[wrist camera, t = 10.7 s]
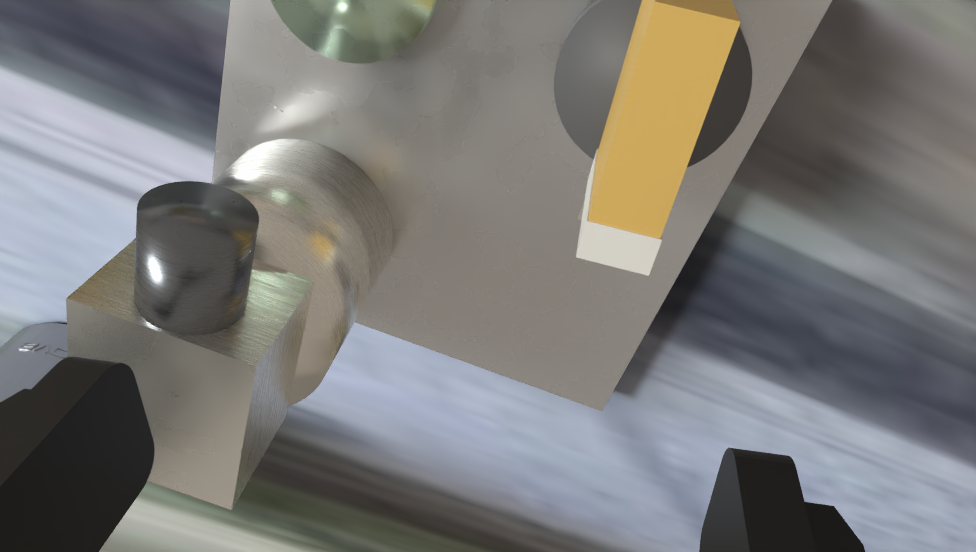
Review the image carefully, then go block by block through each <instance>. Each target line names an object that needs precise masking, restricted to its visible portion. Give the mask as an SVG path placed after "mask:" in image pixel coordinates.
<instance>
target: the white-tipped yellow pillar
mask: <svg viewBox="0 0 976 552" xmlns="http://www.w3.org/2000/svg"><path fill="white" fill-rule="evenodd" d="M740 22H741V21H740V19H739V17H738V14H737V12H736V9H735V7H734V5H733V2H732V0H595V1H593V2H592V3H591V4H590V5H589V6H588V7H587V8H586V9H585V10H584V11H583V12H582V13H581V14H580V15H579V17H578V18H577V19H576V20H575V22H574V23H573V25H572V26H571V28H570V30H569V31H568V33H567V35H566V38H565V40H564V42H563V45H562V48H561V50H560V54H559V57H558V60H557V63H556V68H555V74H554V97H555V103H556V107H557V112H558V114H559V117H560V120H561V122H562V124H563V126H564V128H565V130H566V132H567V133H568V135H569V136H570V137H571V139H572V140H573V142H574V143H575V144H576V145H577V146H578V147H579V148H580V149H581V150H582V151H583V152H584V153H585V154H587V155H588V156H589V157H590V158H592V159H593V164H592V167H591V171H590V174H589V177H588V181H587V188H586V195H585V201H584V208H583V214H582V221H581V227H580V234H579V240H578V247H577V253H576V257H577V258H581V259H585V260H588V261H592V262H596V263H600V264H604V265H608V266H612V267H616V268H620V269H624V270H628V271H632V272H636V273H640V274H643V275H647V276H649V274H650V271H651V269H652V266H653V263H654V261H655V258H656V255H657V253H658V250H659V247H660V244H661V242H662V233H663V230H664V227H665V225H666V222H667V219H668V217H669V214H670V211H671V209H672V206H673V203H674V200H675V198H676V195H677V192H678V190H679V187H680V184H681V182H682V179H683V176H684V173H685V171H686V168H687V167H690V166H692V165H694V164H696V163H698V162H700V161H701V160H703V159H705V158H706V157H708V156H709V155H711V154H712V153H713V152H715V151H716V150H717V149H718V148H719V147H720V146H721V145H722V144H723V143H724V142H725V141H726V140H727V139H728V138H729V137H730V135H731V134H732V133H733V132H734V130H735V129H736V127H737V125H738V124H739V122H740V121H741V118H742V116H743V114H744V112H745V110H746V107H747V104H748V101H749V98H750V92H751V87H752V63H751V57H750V53H749V49H748V46H747V43H746V41H745V38H744V36H743V33H742V31H741V28H740V26H739V25H740Z"/></svg>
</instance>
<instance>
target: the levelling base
mask: <svg viewBox="0 0 976 552" xmlns="http://www.w3.org/2000/svg"><path fill="white" fill-rule="evenodd" d="M593 1H595V0H231V2H230V12H229V22H228V31H227V41H226V50H225V60H224V70H223V79H222V89H221V99H220V108H219V118H218V127H217V137H216V147H215V156H214V166H213V176H212V183H205V182H193V181H184V182H174V183H168V184H164V185H161V186H158V187H155V188H153V189H151V190H150V191H148V192H147V193H145V194H144V195H143V196H142V198H141V199H140V200H139V203H138V206H137V225H136V238H135V239H134V240H133V241H132V242H131V243H130V244H129V245H127V246H126V247H125V248H124V249H123V250H122V251H120V252H119V253H118V254H117V255H116V256H115V257H114V258H112V259H111V260H110V261H109V262H108V263H107V264H105V265H104V266H103V267H102V268H101V269H100V270H99V271H97V272H96V273H95V274H94V275H93V276H92V277H90V278H89V279H88V280H87V281H86V282H85V283H84V284H82V285H81V286H80V287H79V288H78V289H77V290H75V291H74V292H73V293H72V294H71V295H70V296H69V297H67V298H66V302H67V338H68V357H73V356H74V357H81V358H88V359H96V360H103V361H111V362H118V363H124V364H126V365H128V366H129V367H130V368H131V369H132V371H133V373H134V375H135V378H136V382H137V385H138V389H139V392H140V396H141V399H142V403H143V406H144V409H145V413H146V416H147V420H148V423H149V427H150V430H151V434H152V437H153V441H154V448H155V452H154V462H153V466H152V470H151V473H150V475H149V478H148V480H147V481H150V482H153V483H156V484H159V485H162V486H164V487H167V488H170V489H173V490H176V491H179V492H181V493H184V494H187V495H190V496H193V497H196V498H198V499H201V500H204V501H207V502H210V503H212V504H215V505H218V506H221V507H224V508H227V509H229V510H232V509H233V507H234V505H235V504H236V502H237V500H238V498H239V497H240V495H241V493H242V492H243V490H244V488H245V486H246V485H247V483H248V481H249V480H250V478H251V476H252V474H253V473H254V471H255V469H256V467H257V466H258V464H259V462H260V461H261V459H262V457H263V455H264V454H265V452H266V450H267V449H268V447H269V445H270V443H271V442H272V440H273V438H274V436H275V435H276V433H277V431H278V430H279V428H280V426H281V424H282V423H283V421H284V419H285V417H286V413H287V409H288V406H290V405H292V404H295V403H297V402H299V401H301V400H302V399H304V398H306V397H307V396H308V395H310V394H311V393H312V392H313V391H314V390H315V389H316V388H317V387H318V386H319V384H320V383H321V381H322V380H323V378H324V376H325V374H326V373H327V371H328V369H329V367H330V365H331V364H332V362H333V360H334V358H335V356H336V355H337V353H338V351H339V349H340V347H341V346H342V344H343V342H344V340H345V338H346V337H347V335H348V333H349V331H350V329H351V328H352V326H353V324H354V322H356V323H359V324H362V325H364V326H367V327H370V328H373V329H375V330H378V331H381V332H384V333H387V334H389V335H392V336H395V337H398V338H400V339H403V340H406V341H409V342H412V343H414V344H417V345H420V346H423V347H425V348H428V349H431V350H434V351H436V352H439V353H442V354H445V355H448V356H450V357H453V358H456V359H459V360H461V361H464V362H467V363H470V364H473V365H475V366H478V367H481V368H484V369H486V370H489V371H492V372H495V373H498V374H500V375H503V376H506V377H509V378H511V379H514V380H517V381H520V382H522V383H525V384H528V385H531V386H534V387H536V388H539V389H542V390H545V391H547V392H550V393H553V394H556V395H559V396H561V397H564V398H567V399H570V400H572V401H575V402H578V403H581V404H583V405H586V406H589V407H592V408H595V409H597V410H600V411H602V410H603V409H604V407H605V405H606V403H607V401H608V400H609V398H610V396H611V394H612V393H613V391H614V389H615V387H616V385H617V384H618V382H619V380H620V378H621V377H622V375H623V373H624V371H625V369H626V368H627V366H628V364H629V362H630V360H631V359H632V357H633V355H634V353H635V352H636V350H637V348H638V346H639V344H640V343H641V341H642V339H643V337H644V335H645V334H646V332H647V330H648V328H649V327H650V325H651V323H652V321H653V319H654V318H655V316H656V314H657V312H658V311H659V309H660V307H661V305H662V303H663V302H664V300H665V298H666V296H667V294H668V293H669V291H670V289H671V287H672V286H673V284H674V282H675V280H676V278H677V277H678V275H679V273H680V271H681V270H682V268H683V266H684V264H685V262H686V261H687V259H688V257H689V255H690V253H691V252H692V250H693V248H694V246H695V245H696V243H697V241H698V239H699V237H700V236H701V234H702V232H703V230H704V228H705V227H706V225H707V223H708V221H709V220H710V218H711V216H712V214H713V212H714V211H715V209H716V207H717V205H718V204H719V202H720V200H721V198H722V196H723V195H724V193H725V191H726V189H727V187H728V186H729V184H730V182H731V180H732V179H733V177H734V175H735V173H736V171H737V170H738V168H739V166H740V164H741V163H742V161H743V159H744V157H745V155H746V154H747V152H748V150H749V148H750V146H751V145H752V143H753V141H754V139H755V138H756V136H757V134H758V132H759V130H760V129H761V127H762V125H763V123H764V121H765V120H766V118H767V116H768V114H769V113H770V111H771V109H772V107H773V105H774V104H775V102H776V100H777V98H778V97H779V95H780V93H781V91H782V89H783V88H784V86H785V84H786V82H787V80H788V79H789V77H790V75H791V73H792V72H793V70H794V68H795V66H796V64H797V63H798V61H799V59H800V57H801V56H802V54H803V52H804V50H805V48H806V47H807V45H808V43H809V41H810V39H811V38H812V36H813V34H814V32H815V31H816V29H817V27H818V25H819V23H820V22H821V20H822V18H823V16H824V15H825V13H826V11H827V9H828V7H829V6H830V4H831V2H832V0H732V2H733V5H734V7H735V9H736V12H737V14H738V17H739V19H740V21H741V22H740V25H739V26H740V28H741V31H742V33H743V36H744V38H745V41H746V43H747V46H748V49H749V53H750V57H751V63H752V87H751V92H750V98H749V101H748V104H747V107H746V110H745V112H744V114H743V116H742V118H741V121H740V122H739V124H738V125H737V127H736V129H735V130H734V132H733V133H732V134H731V135H730V137H729V138H728V139H727V140H726V141H725V142H724V143H723V144H722V145H721V146H720V147H719V148H718V149H717V150H716V151H715V152H713V153H712V154H711V155H709V156H708V157H706V158H705V159H703V160H701V161H700V162H698V163H696V164H694V165H692V166H690V167H687V168H686V171H685V173H684V176H683V179H682V182H681V184H680V187H679V190H678V192H677V195H676V198H675V200H674V203H673V206H672V209H671V211H670V214H669V217H668V219H667V222H666V225H665V227H664V230H663V233H662V242H661V244H660V247H659V250H658V253H657V255H656V258H655V261H654V263H653V266H652V269H651V271H650V274H649V276H647V275H643V274H640V273H636V272H632V271H628V270H624V269H620V268H616V267H612V266H608V265H604V264H600V263H596V262H592V261H588V260H585V259H581V258H577V257H576V253H577V247H578V240H579V234H580V227H581V221H582V214H583V208H584V201H585V195H586V188H587V181H588V177H589V174H590V171H591V167H592V164H593V159H592V158H590V157H589V156H588V155H587V154H585V153H584V152H583V151H582V150H581V149H580V148H579V147H578V146H577V145H576V144H575V143H574V142H573V140H572V139H571V137H570V136H569V135H568V133H567V132H566V130H565V128H564V126H563V124H562V122H561V120H560V117H559V114H558V112H557V107H556V103H555V97H554V74H555V68H556V63H557V60H558V57H559V54H560V50H561V48H562V45H563V42H564V40H565V38H566V35H567V33H568V31H569V30H570V28H571V26H572V25H573V23H574V22H575V20H576V19H577V18H578V17H579V15H580V14H581V13H582V12H583V11H584V10H585V9H586V8H587V7H588V6H589V5H590V4H591V3H592V2H593Z"/></svg>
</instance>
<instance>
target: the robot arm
mask: <svg viewBox="0 0 976 552" xmlns="http://www.w3.org/2000/svg"><path fill="white" fill-rule="evenodd" d="M154 452H155V448H154V441H153V437H152V434H151V430H150V427H149V423H148V420H147V416H146V413H145V409H144V406H143V403H142V399H141V396H140V392H139V389H138V385H137V382H136V378H135V375H134V373H133V371H132V369H131V368H130V367H129V366H128V365H126V364H124V363H118V362H111V361H103V360H96V359H88V358H81V357H74V356H73V357H68V338H67V324H59V323H44V324H35V325H32V326H30V327H27V328H24V329H22V330H21V331H20V332H18V333H17V334H16V335H15V336H13V337H12V338H11V339H10V340H9V341H7V342H6V343H5V344H4V345H3V346H2V347H0V552H99V550H100V549H101V547H102V546H103V545H104V543H105V542H106V540H107V539H108V537H109V536H110V535H111V533H112V532H113V530H114V529H115V527H116V526H117V525H118V523H119V522H120V520H121V519H122V518H123V516H124V515H125V513H126V512H127V510H128V509H129V508H130V506H131V505H132V503H133V502H134V500H135V499H136V498H137V496H138V495H139V493H140V492H141V490H142V489H143V487H144V486H145V484H146V482H147V480H148V478H149V475H150V473H151V470H152V466H153V462H154ZM699 552H865V549H864V546H863V544H862V543H861V541H860V540H859V539H858V538H857V536H856V535H855V534H854V532H853V531H852V530H851V528H850V527H849V526H848V524H847V523H846V522H845V520H844V519H843V518H842V516H841V515H840V514H839V512H838V511H837V510H836V508H835V507H834V506H829V505H822V504H815V503H808V502H804V498H803V494H802V490H801V486H800V482H799V478H798V474H797V470H796V467H795V464H794V461H793V460H792V458H791V457H790V456H785V455H778V454H771V453H763V452H756V451H749V450H741V449H734V448H728V449H727V450H726V451H725V453H724V455H723V458H722V462H721V465H720V468H719V472H718V475H717V479H716V482H715V486H714V489H713V493H712V496H711V500H710V503H709V507H708V510H707V513H706V517H705V520H704V524H703V528H702V533H701V540H700V551H699Z"/></svg>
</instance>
